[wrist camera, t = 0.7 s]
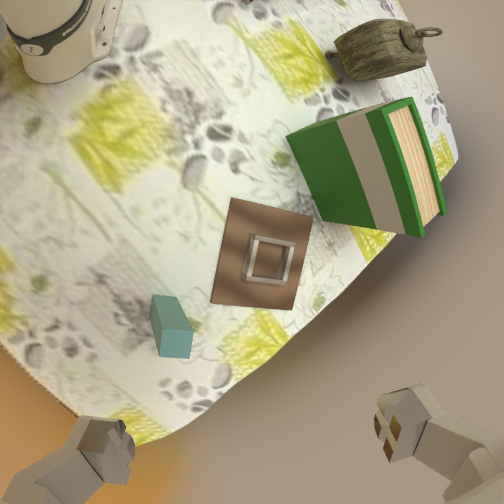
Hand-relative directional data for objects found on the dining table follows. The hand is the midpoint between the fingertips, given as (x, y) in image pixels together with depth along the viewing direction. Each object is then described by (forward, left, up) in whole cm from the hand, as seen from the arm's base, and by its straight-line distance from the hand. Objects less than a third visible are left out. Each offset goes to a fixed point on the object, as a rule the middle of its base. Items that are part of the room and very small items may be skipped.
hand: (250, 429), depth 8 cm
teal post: (+11, +4, -43) cm, 44 cm away
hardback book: (-18, +28, -43) cm, 54 cm away
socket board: (0, +20, -43) cm, 47 cm away
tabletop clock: (-44, +31, -43) cm, 69 cm away
